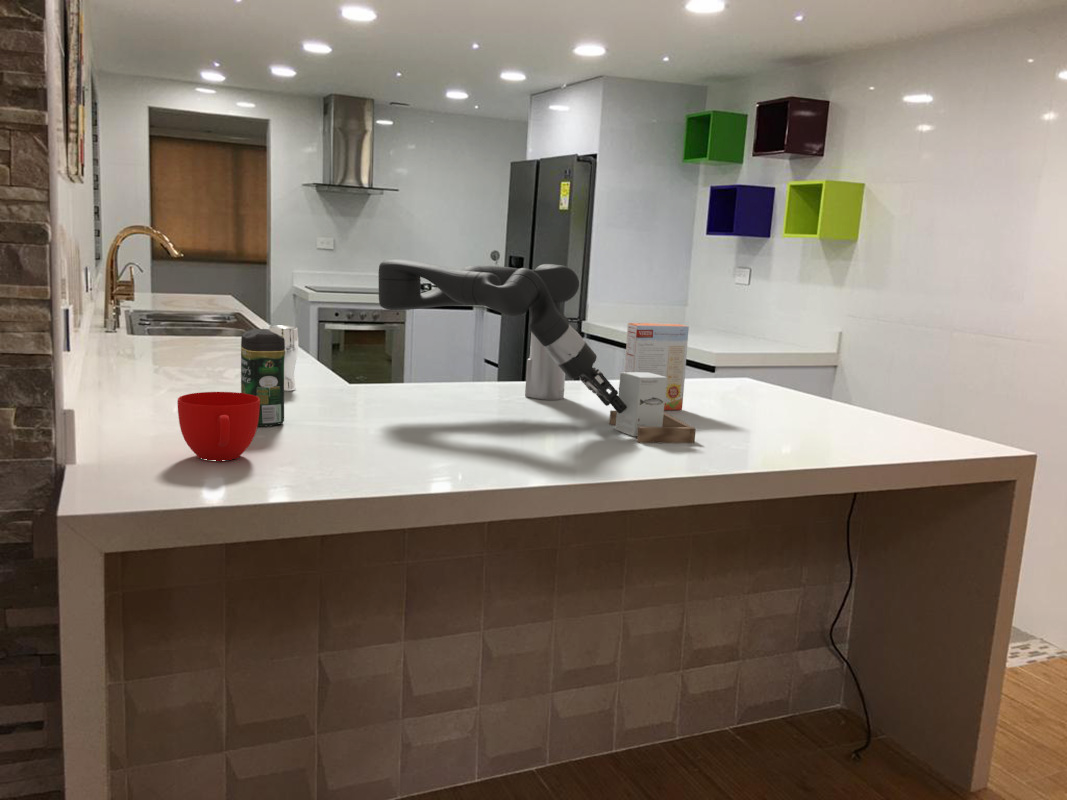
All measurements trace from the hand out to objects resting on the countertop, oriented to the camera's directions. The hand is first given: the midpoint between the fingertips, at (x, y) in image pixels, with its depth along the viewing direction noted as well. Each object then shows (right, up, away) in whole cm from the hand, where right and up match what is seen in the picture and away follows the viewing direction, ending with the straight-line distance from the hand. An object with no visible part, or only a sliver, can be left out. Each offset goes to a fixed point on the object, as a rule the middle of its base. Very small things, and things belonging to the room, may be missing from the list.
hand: (616, 406), depth 196 cm
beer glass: (-78, +4, +23) cm, 81 cm away
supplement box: (+5, -6, -1) cm, 7 cm away
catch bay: (+7, -6, -1) cm, 9 cm away
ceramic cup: (-70, -9, -44) cm, 83 cm away
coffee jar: (-72, -3, -14) cm, 73 cm away
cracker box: (+11, -1, +29) cm, 31 cm away
